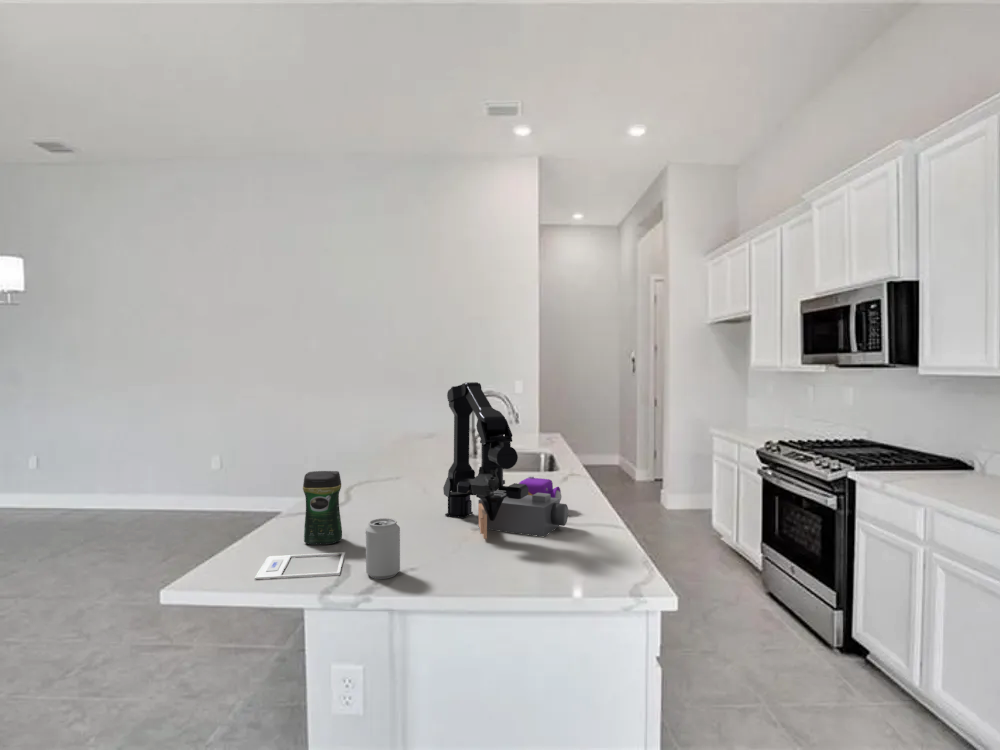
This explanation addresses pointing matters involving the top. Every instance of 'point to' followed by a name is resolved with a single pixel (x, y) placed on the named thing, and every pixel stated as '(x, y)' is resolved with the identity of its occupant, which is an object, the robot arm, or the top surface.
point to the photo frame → (278, 563)
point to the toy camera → (541, 487)
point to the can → (382, 548)
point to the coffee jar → (322, 507)
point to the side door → (482, 521)
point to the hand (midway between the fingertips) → (492, 520)
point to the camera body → (529, 515)
